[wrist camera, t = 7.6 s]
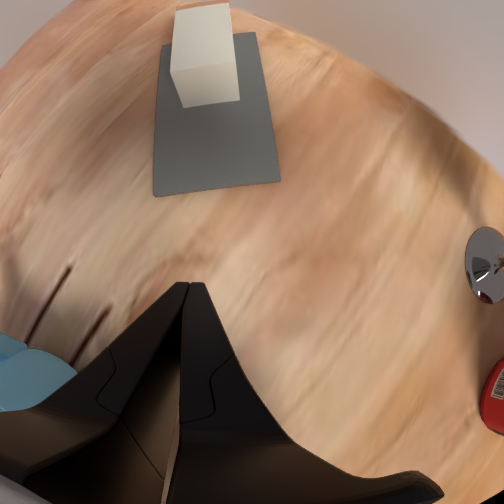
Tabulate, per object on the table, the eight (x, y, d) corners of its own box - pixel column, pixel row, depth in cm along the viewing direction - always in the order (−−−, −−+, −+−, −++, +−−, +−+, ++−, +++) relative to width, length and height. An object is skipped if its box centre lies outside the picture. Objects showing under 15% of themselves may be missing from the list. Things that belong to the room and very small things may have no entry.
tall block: (235, 61, 20) (228, -2, 22) (169, 71, 20) (176, 6, 22) (240, 100, 25) (232, 33, 26) (183, 108, 25) (185, 40, 27)
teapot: (110, 514, 19) (59, 572, 8) (0, 430, 20) (-66, 452, 10) (153, 401, 21) (83, 455, 10) (23, 312, 23) (-64, 306, 12)
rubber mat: (280, 182, 24) (280, 178, 23) (155, 197, 24) (153, 194, 23) (255, 35, 27) (255, 31, 26) (163, 49, 27) (162, 45, 27)
